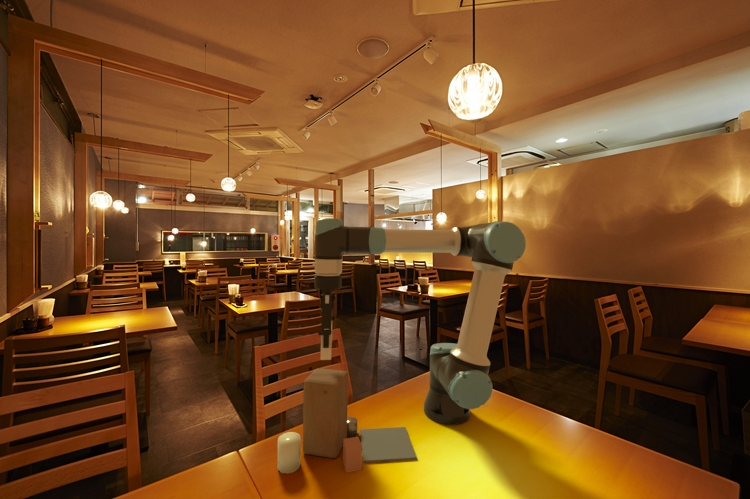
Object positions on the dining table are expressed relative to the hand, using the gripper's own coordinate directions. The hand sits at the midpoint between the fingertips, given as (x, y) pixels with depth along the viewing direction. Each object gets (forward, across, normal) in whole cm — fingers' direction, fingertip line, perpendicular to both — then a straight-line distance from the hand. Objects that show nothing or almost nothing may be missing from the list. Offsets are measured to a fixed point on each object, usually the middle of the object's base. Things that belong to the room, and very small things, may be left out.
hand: (326, 350), depth 89 cm
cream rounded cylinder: (+27, +7, -9) cm, 29 cm away
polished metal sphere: (+27, -5, +7) cm, 28 cm away
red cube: (+27, +9, +7) cm, 29 cm away
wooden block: (+27, 0, 0) cm, 27 cm away
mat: (+27, +1, +17) cm, 32 cm away
